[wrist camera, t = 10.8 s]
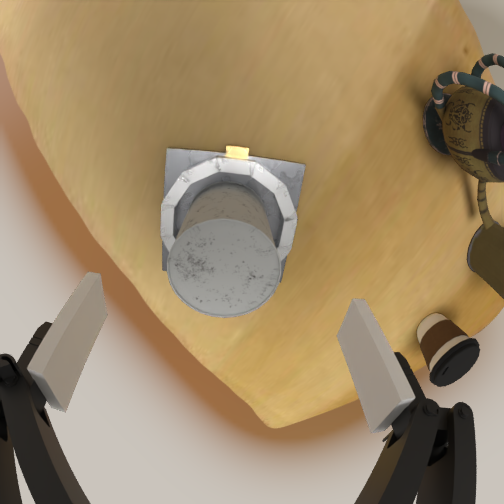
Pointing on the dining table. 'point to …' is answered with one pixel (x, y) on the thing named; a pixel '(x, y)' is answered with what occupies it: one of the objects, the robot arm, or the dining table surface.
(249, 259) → the grey speckled cylinder
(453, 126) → the teapot
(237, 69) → the dining table surface
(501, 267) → the canister
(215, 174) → the socket
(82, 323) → the robot arm
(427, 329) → the coffee cup
